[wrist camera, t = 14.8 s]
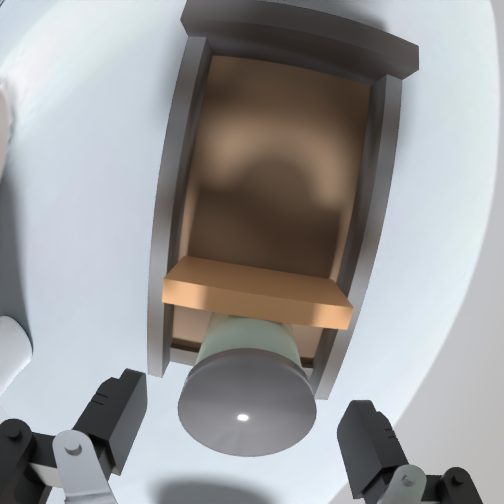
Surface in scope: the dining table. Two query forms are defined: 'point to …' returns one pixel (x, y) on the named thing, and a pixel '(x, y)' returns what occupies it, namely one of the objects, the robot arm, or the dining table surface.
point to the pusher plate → (256, 293)
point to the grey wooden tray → (276, 162)
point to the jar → (247, 388)
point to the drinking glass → (12, 350)
